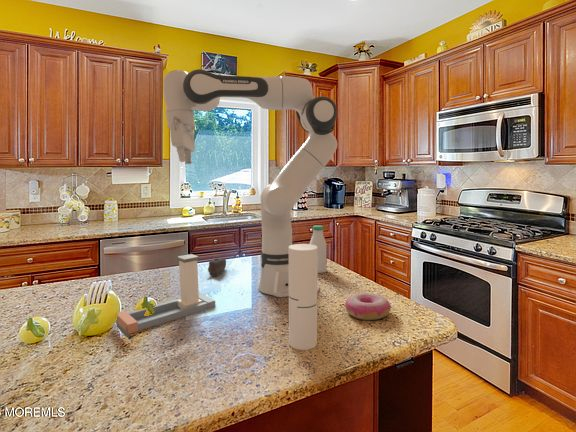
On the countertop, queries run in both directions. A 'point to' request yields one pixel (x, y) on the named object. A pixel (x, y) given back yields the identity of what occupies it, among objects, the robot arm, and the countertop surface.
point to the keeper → (188, 281)
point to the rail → (159, 315)
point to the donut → (367, 306)
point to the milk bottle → (320, 248)
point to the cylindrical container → (303, 296)
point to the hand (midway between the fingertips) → (185, 162)
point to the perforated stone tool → (217, 266)
